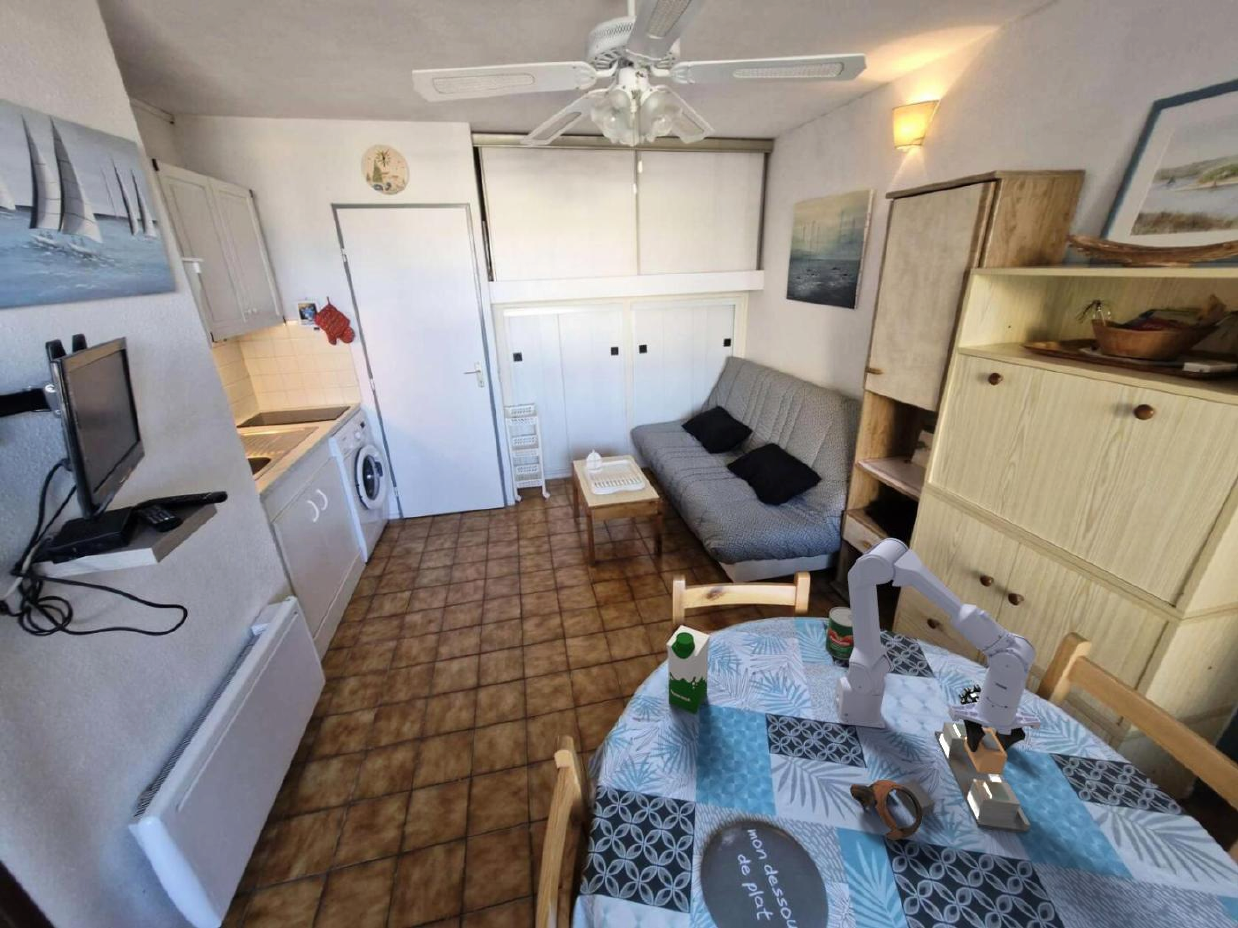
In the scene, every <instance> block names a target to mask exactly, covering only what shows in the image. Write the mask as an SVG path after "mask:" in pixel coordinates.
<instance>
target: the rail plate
mask: <svg viewBox="0 0 1238 928" xmlns="http://www.w3.org/2000/svg"><path fill="white" fill-rule="evenodd" d="M966 735H967V734H966V728H965V724H964V723H957V722H950V721H949V722H948V721H944V722H943V727H942V731H939V730H934V736H935V739H936V742H937V743H938V746H939V748H940V750H941V752H942V754H943V756H944V758H945V760H946V762H947V765H948V766H949V769H950V771H951V774H952V775H953V778H954V780H955V782H956V784H957V786H958V787H959V790H960V792H961V795H962V796H963V798H964V800H965V803H966V805H967V808H968V809H969V811H970V813H971V816H972V818H973V820H974V822H975V824H976V827H977V828H978V829H985V830H986V829H987V830H994V831H1001V832H1006V833H1007V832H1009V833H1013V834H1014V833H1016V834H1023V835H1027V834H1028V833H1029V831H1030V830H1029V829H1030V828H1031V827H1030V826H1031V823H1030V822H1029V820H1028V818H1027V816H1026V815H1025V813H1024V811H1023V809H1022V808H1021V803H1020V800H1019V799H1018V797H1017V796H1016V794H1015V792H1014V790H1013V787H1011V784H1010V783H1009V782H1007V781H1006V780H1005V778H1004V775H1003V774H1002V775H996V774H988V773H979V772H978V771H977V769H976V767H975V766H974V764H973V762H972V760H971V758H970V756H969V754H968V752H967V750H966V748H965V746H964V743H965V739H966Z"/></svg>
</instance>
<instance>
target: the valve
mask: <svg viewBox="0 0 1238 928" xmlns="http://www.w3.org/2000/svg"><path fill="white" fill-rule="evenodd" d="M981 689H982V687H980V686H979V684H975V685H973V688H971V689H970V688H969V687H967V686H966V687H964V688H963V691H964V692H965V693H959V694H958V697H959V699H960V704H961V705H965V704H970V703H975V702H978V700H979V696H980V695H978V694H977V693H979V694H980V693H981ZM969 699H970V700H969ZM987 729H992V731H993V732H994V734H995V733H996V729H995V728H992V727H988V726H987Z"/></svg>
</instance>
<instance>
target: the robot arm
mask: <svg viewBox="0 0 1238 928" xmlns="http://www.w3.org/2000/svg"><path fill="white" fill-rule="evenodd" d="M855 561H856V562H855V563H854V565H853V566H852V567H851V569H850V570H849V571H848V573H847V581H848V583H847V584H848V592H849V593H848V594H849V601H850V602H849V604H850V609H851V617H852V627H853V638H854V649H853V652H852V654H851V657H850V659H848V664H849V665H848V669H847V671H846V673H845V676H841V677H837V678H836V683H835V691H834V695H833V701H834V704H835V708H836V712H837V715H838V719H839V722H840V724H842V725H851V726H857V727H858V726H860V727H866V728H867V727H869V728H877V729H878V728H879V729H886V724H885V721H884V719H883V716H882V714H881V710H882V704H883V700H884V693H885V689H886V683H885V677H887V675H888V674H889V673H890V672H892V668H893V664H892V661H891V659H890V658H889V656H888V652H887V648H886V647H885V646H884V645H882V644H881V643H882V642H881V630H880V620H879V619H880V616H879V606H878V592H877V585H882V584H886V583H889V582H890V581H891V580H892V581H893V582H892V585H891V586H893V587H912V588H914V589H915V590H916V591H917V592H918V593H920V594H921V595H923V596H924V597H925V598H926V599H928V600H929V601H930V602H931V603H933V604H934V605H935V606H937V607H938V608H939V609H941V610H942V611H943V612H944V613H945V614H947V615H948V616H949V617H950V620H951V626H952V627H953V628H954V629H955V630H956V631H957V632H958V633H959V634H961V636H963V638H965V639H966V640H967V641H969V642H970V643H971V645H973V646H974V648H975V647H976V648H977V650H979V651H980V652H981V653H982V654H983V655H985V656H986V662H987V666H988V668H987V669H986V672H985V676H984V679H983V683H982V686H981V693H979V695H978V696H979V700H978V702H975V703H970V704H965V705H962V704H961V705H960V704H959V705H949V709H948V715H949V717H950V719H951V721H952V722H956V723H957V722H959V721H960V720H962V721H963V724H965V728H966V734H967V745H968V747H969V748H970V750H971V752H976V751H977V749H978V745H979V742H980V741H981V739H982V738H983V737H984V736H985V735H986V734H985V732H984V730H983V729H982V728H983V726H985V727H986V726H987V728H988V727H992V728H995V729H996V733H995V736H996V737H997V739H998V741H999V743H1000V744H1001V746H1002V748H1003V749H1004V751H1005V752H1006V751H1008V749H1010V747H1012V746H1013V745H1015V744H1016V743H1019V742H1020V741H1025V739H1026V737H1027V736H1026V734H1027V733H1026V732H1025V731H1024V729H1023V728H1024V727H1029V728H1031V729H1032V730H1035V731H1038V730H1040V727H1041V724H1042V721H1041V720H1040V718H1039V717H1038V716H1037V714H1036V713H1031V712H1027V711H1022V710H1019V706H1020V703H1021V701H1022V697H1023V693H1024V690H1025V687H1026V683H1027V682H1026V681H1027V679H1028V678H1029V672H1030V670H1031V668H1032V666H1033V664H1034V662H1035V659H1036V654H1037V652H1036V649H1035V647H1034V645H1033V644H1032V643H1031V642H1030V641H1029V640H1028V639H1027V638H1026V637H1024V636H1022V635H1020V634H1017V633H1013V632H1011V631H1010V630H1008V629H1005V628H1004V627H1002V626H1001V625H1000V624H999V623H998V622H996V621H995V620H994V619H993V618H992V617H991V613H989V612H988V611H987V610H986V609H984V610H983V609H981V608H980V607H979V606H978V605H974V604H968V603H964V602H963V601H962V600H961V599H960V598H959V597H958V596H957V595H956V594H955V593H954V592H952V590H950V589H949V588H948V587H947V586H946V585H945V584H944V583H943V582H942V581H941V580H940V579H939V578H938V577H936V576H935V575H934V573H933V572H931V570H929V569H928V568H927V567H926V566H925V565H924V563H923V562H922V560H921V559H920V557H919V556H918V554H917V553H916V552H915V551H914V550H912V549H910V548H909V547H908V546H907V545H906V544H905V542H903V541H902V540H900V539H897V538H893V537H889V538H884V539H882V540H881V541H879V542H877V543H875V544H874V545H873V546H872V547H871V548H869V550H867V551H865V553H863V554H862V555H861V556H860V557H858V559H856V560H855Z"/></svg>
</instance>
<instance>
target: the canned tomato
mask: <svg viewBox="0 0 1238 928" xmlns="http://www.w3.org/2000/svg"><path fill="white" fill-rule="evenodd" d="M828 614H829V615H828V616H829V617H828V623H827V629H826V630H827V631H826V635H825V637H826V638H825V644H824V648H825V650H826V652H827V653H828V654H829V655H830V656H832V657H833V658H836V659H838V660H846V661H847V660H848V661H849V660H850V657H851V654H852V652H853V649H854V638H853V627H852V617H851V607H850V608H849V607H846V606H845V607H844V606H838V607H837V606H835V607H833V608H831V610H830V611H829V613H828Z"/></svg>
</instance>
